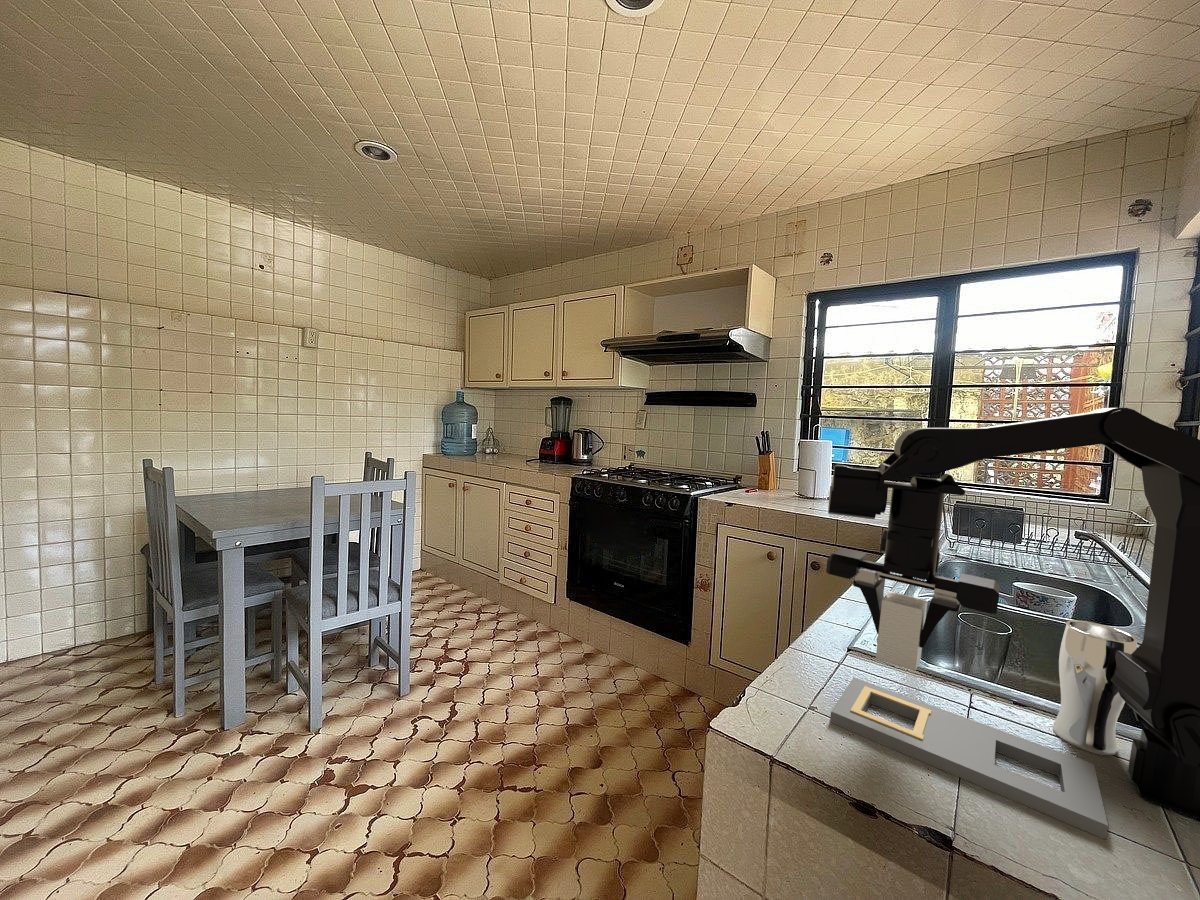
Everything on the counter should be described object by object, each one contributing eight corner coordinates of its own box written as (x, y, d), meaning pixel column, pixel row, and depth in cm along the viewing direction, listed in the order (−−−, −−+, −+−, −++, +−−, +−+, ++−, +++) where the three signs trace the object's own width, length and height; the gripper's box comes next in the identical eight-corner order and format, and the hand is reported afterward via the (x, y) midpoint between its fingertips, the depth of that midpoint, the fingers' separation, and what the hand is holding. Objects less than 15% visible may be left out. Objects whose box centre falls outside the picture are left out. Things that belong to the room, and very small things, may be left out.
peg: (920, 658, 66) (927, 600, 66) (915, 671, 63) (922, 610, 62) (882, 646, 69) (888, 591, 69) (875, 658, 66) (882, 599, 65)
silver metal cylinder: (1036, 728, 68) (1052, 621, 66) (1067, 719, 70) (1082, 617, 69) (1102, 763, 61) (1121, 646, 60) (1133, 752, 64) (1152, 640, 62)
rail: (1091, 775, 59) (1093, 762, 59) (1105, 839, 50) (1108, 823, 50) (852, 686, 75) (853, 675, 75) (829, 722, 66) (831, 709, 66)
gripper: (1007, 529, 65) (991, 645, 66) (851, 505, 77) (841, 603, 78) (1005, 544, 56) (988, 676, 58) (830, 514, 68) (819, 624, 69)
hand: (900, 640), depth 66 cm, fingers closed on peg, 4 cm apart
